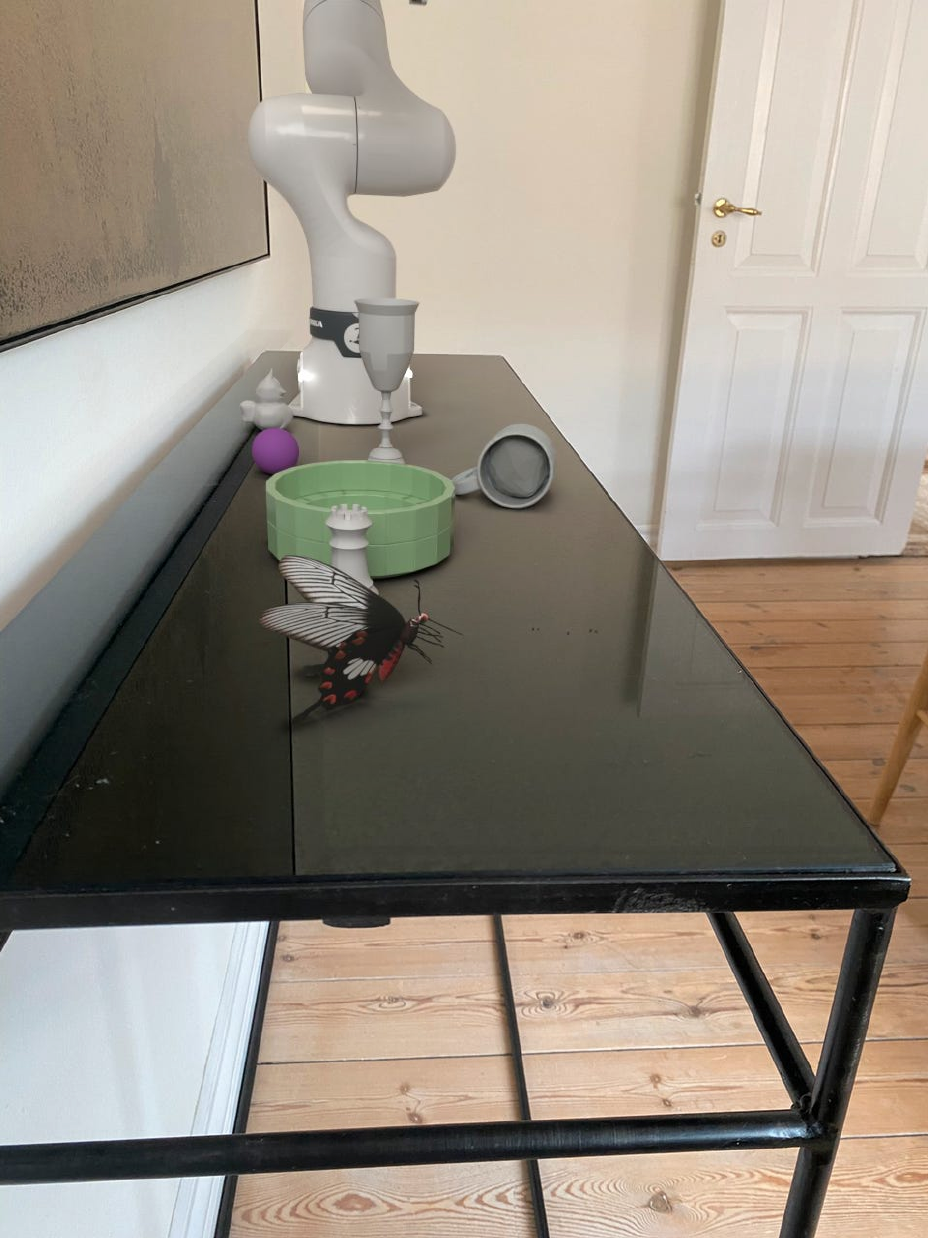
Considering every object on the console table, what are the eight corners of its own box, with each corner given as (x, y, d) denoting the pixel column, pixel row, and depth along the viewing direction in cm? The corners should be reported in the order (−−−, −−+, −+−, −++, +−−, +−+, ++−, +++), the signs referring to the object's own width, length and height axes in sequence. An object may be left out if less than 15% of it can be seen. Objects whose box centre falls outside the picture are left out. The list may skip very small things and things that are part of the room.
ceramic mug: (554, 489, 100) (559, 417, 97) (551, 511, 92) (556, 434, 89) (456, 483, 101) (458, 412, 98) (445, 505, 94) (446, 429, 90)
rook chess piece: (354, 632, 65) (354, 523, 62) (306, 616, 67) (302, 510, 64) (392, 611, 69) (393, 507, 65) (344, 597, 71) (343, 495, 68)
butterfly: (311, 777, 56) (187, 667, 52) (355, 685, 62) (247, 582, 59) (441, 712, 50) (311, 583, 47) (475, 618, 56) (363, 498, 53)
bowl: (268, 524, 86) (266, 460, 83) (436, 521, 88) (438, 459, 86) (268, 589, 72) (265, 514, 69) (467, 582, 75) (470, 511, 72)
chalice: (406, 481, 100) (409, 306, 93) (346, 475, 101) (344, 302, 94) (422, 465, 107) (427, 300, 99) (366, 459, 108) (365, 296, 101)
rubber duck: (294, 436, 117) (292, 371, 114) (240, 436, 116) (236, 370, 112) (293, 426, 122) (290, 364, 118) (241, 426, 120) (237, 363, 117)
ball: (253, 468, 103) (250, 422, 101) (299, 467, 104) (297, 423, 102) (252, 480, 98) (250, 433, 96) (300, 480, 99) (299, 433, 97)
